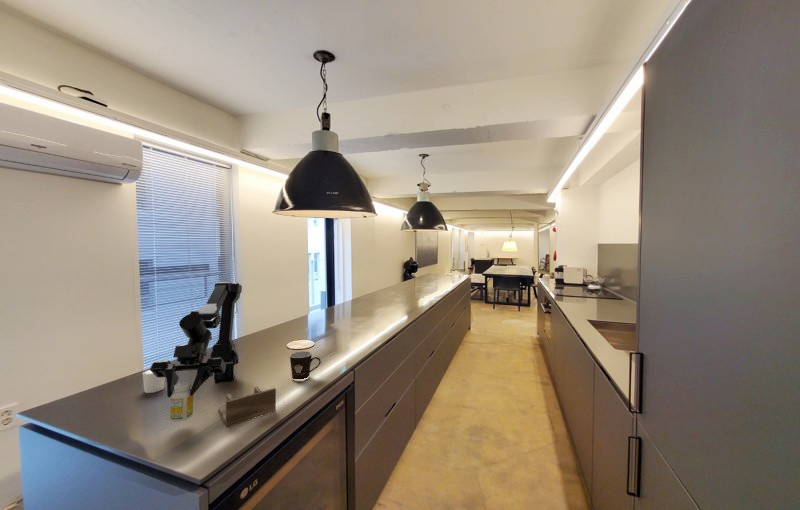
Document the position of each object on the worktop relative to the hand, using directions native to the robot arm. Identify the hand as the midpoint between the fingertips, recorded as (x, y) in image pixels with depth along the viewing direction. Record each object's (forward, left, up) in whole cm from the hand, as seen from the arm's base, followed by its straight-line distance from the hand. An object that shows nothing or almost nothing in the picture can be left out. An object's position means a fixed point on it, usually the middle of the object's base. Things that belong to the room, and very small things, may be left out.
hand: (179, 396), depth 86 cm
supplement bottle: (0, -1, -7) cm, 7 cm away
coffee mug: (-37, -23, -10) cm, 45 cm away
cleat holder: (-17, -4, -10) cm, 20 cm away
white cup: (+15, -36, -10) cm, 40 cm away
